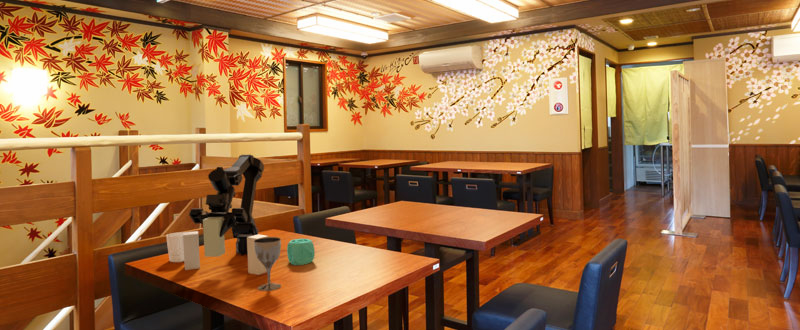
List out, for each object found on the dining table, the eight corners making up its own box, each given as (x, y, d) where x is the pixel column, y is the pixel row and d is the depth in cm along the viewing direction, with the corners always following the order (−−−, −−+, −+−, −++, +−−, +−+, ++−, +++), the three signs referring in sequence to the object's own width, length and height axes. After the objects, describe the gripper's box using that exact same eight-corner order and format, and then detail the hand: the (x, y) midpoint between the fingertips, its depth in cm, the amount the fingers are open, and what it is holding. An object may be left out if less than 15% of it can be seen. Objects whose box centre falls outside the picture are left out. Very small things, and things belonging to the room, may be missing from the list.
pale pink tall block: (199, 264, 183) (198, 231, 182) (200, 268, 179) (198, 233, 178) (184, 266, 181) (183, 232, 180) (184, 269, 177) (183, 235, 176)
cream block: (259, 269, 176) (258, 234, 175) (269, 271, 173) (268, 235, 172) (248, 273, 172) (246, 237, 171) (258, 275, 169) (257, 238, 168)
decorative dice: (315, 263, 183) (314, 241, 182) (293, 266, 179) (293, 244, 178) (308, 258, 190) (307, 237, 189) (287, 261, 186) (286, 240, 185)
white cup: (181, 263, 186) (180, 236, 185) (163, 262, 187) (161, 236, 187) (194, 257, 194) (193, 232, 193) (176, 257, 195) (175, 231, 194)
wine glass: (258, 283, 160) (256, 237, 158) (284, 282, 160) (282, 236, 159) (253, 291, 152) (251, 243, 150) (280, 290, 152) (278, 242, 151)
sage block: (210, 252, 173) (209, 217, 172) (225, 252, 172) (223, 216, 171) (204, 256, 168) (202, 219, 167) (219, 256, 167) (217, 219, 166)
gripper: (189, 185, 172) (176, 223, 162) (243, 184, 172) (232, 222, 162) (200, 204, 181) (188, 241, 171) (251, 203, 180) (242, 241, 170)
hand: (212, 236), depth 168 cm, fingers closed on sage block, 5 cm apart
